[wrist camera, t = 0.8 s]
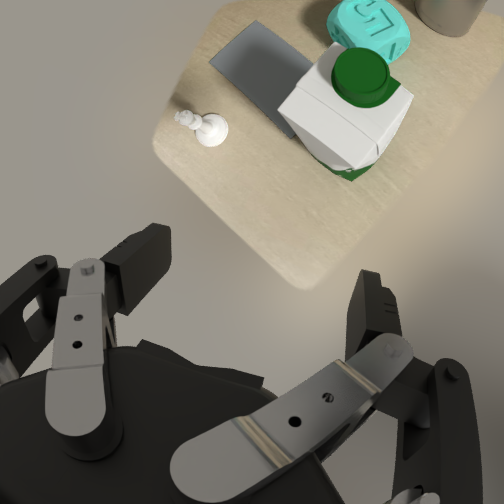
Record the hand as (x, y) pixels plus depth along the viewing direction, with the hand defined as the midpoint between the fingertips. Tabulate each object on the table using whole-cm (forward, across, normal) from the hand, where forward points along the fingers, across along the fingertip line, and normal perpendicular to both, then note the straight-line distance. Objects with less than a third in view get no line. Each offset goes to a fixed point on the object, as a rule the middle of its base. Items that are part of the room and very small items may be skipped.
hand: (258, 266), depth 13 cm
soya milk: (+31, -4, -1) cm, 31 cm away
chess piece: (+32, +15, 0) cm, 35 cm away
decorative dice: (+36, -5, -16) cm, 39 cm away
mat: (+34, +8, -9) cm, 36 cm away
